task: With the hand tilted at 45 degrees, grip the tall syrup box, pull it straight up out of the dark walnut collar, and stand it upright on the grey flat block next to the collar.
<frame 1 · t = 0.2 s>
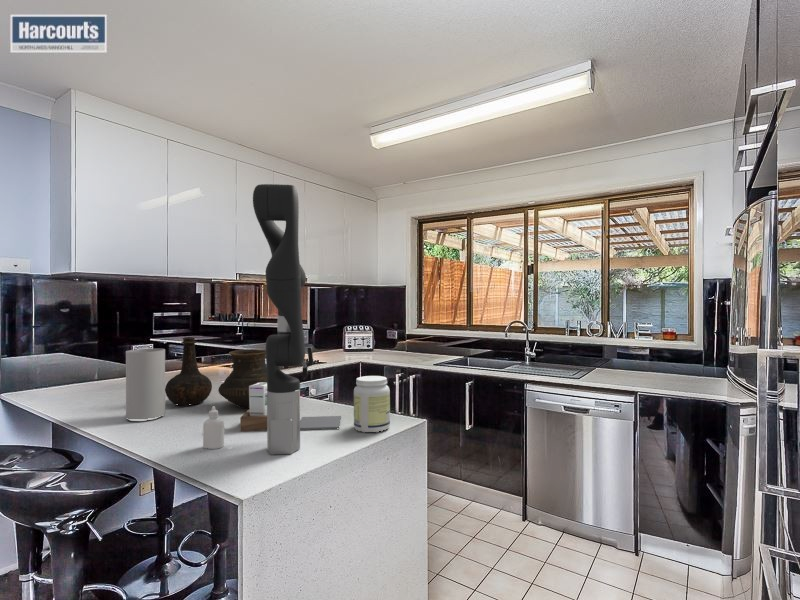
hand: (290, 379, 139), 18 cm above the countertop, tool pointing down, fingers open, 8 cm apart
syrup box: (261, 426, 149), resting in walnut collar
walnut collar: (261, 425, 149), on the countertop
grey flat block: (319, 423, 151), on the countertop
eye dropper bottle: (213, 447, 127), on the countertop
cylinder vase: (146, 418, 160), on the countertop
ceramic pot: (250, 406, 178), on the countertop
brown bulbous vase: (189, 403, 182), on the countertop
supplement tub: (371, 428, 145), on the countertop
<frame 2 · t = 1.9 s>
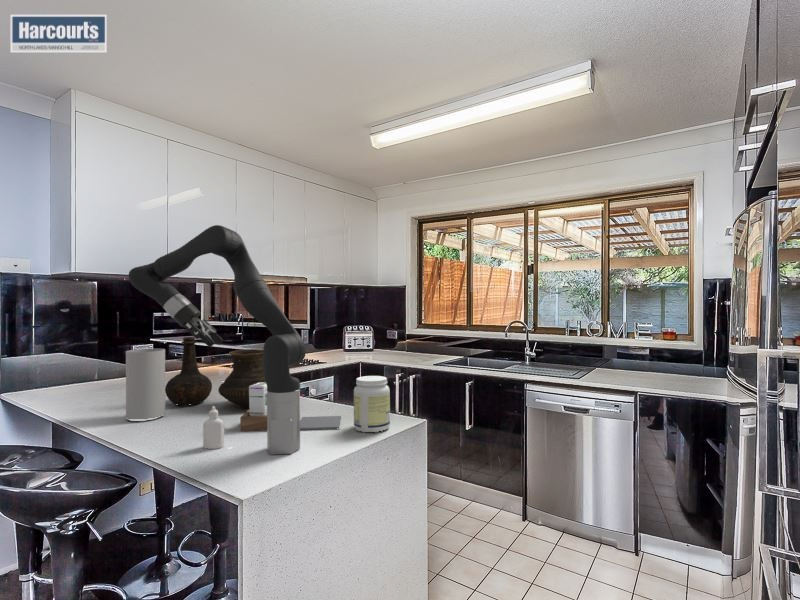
hand: (216, 343, 147), 29 cm above the countertop, tool tilted 45°, fingers open, 8 cm apart
nothing on the countertop moved.
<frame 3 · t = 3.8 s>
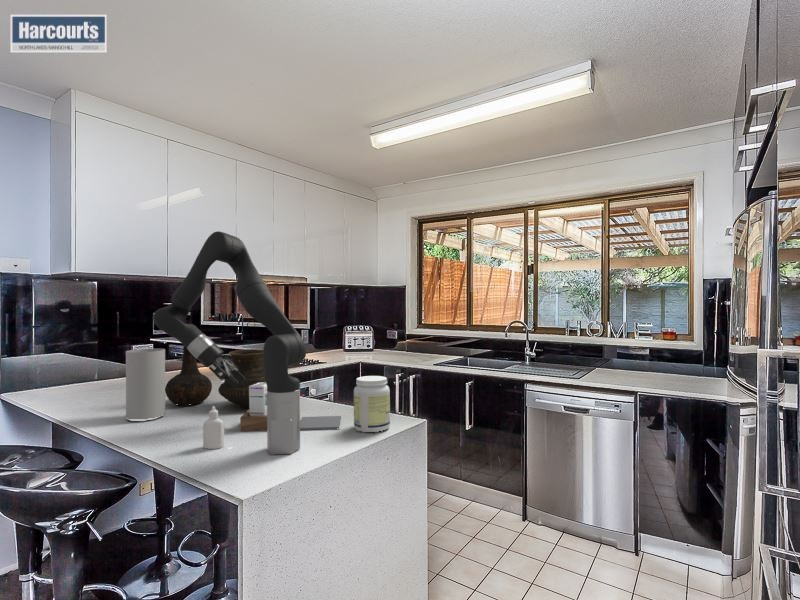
hand: (240, 383, 148), 15 cm above the countertop, tool tilted 45°, fingers open, 8 cm apart
nothing on the countertop moved.
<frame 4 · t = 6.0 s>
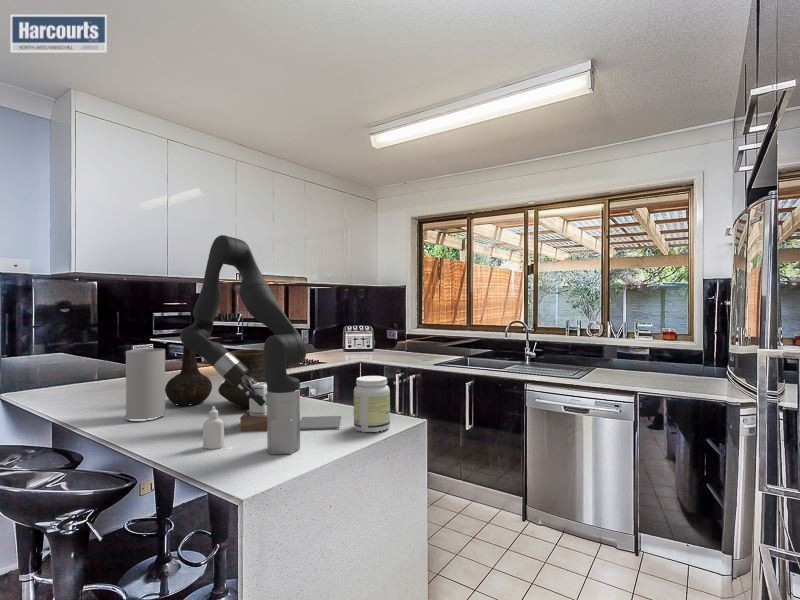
hand: (265, 401, 149), 8 cm above the countertop, tool tilted 45°, fingers closed on syrup box, 7 cm apart
syrup box: (261, 426, 149), resting in walnut collar, touching gripper
everything else where it was.
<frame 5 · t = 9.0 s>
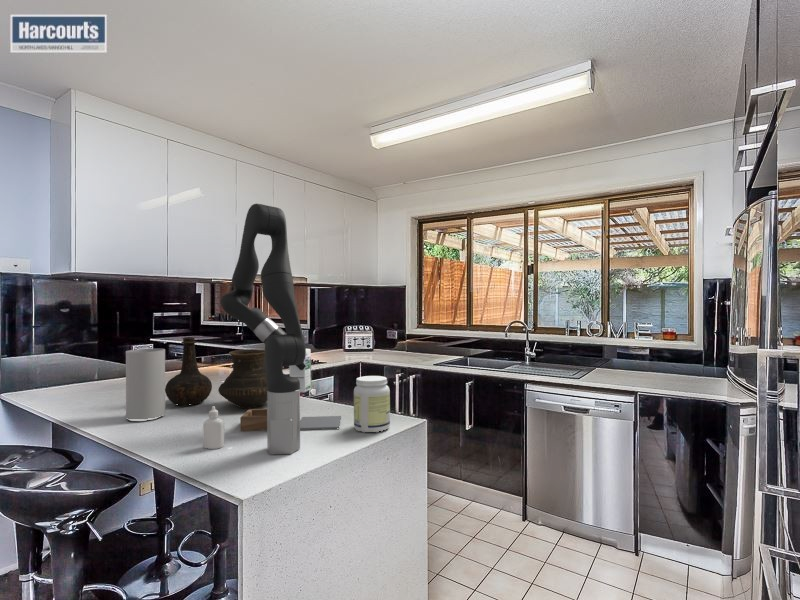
hand: (305, 366, 150), 20 cm above the countertop, tool tilted 45°, fingers closed on syrup box, 7 cm apart
syrup box: (300, 391, 150), point 12 cm above the countertop, touching gripper
everything else where it was.
when the fingers open (11 cm above the countertop, at t = 12.5 s): syrup box drops 1 cm, resting on grey flat block.
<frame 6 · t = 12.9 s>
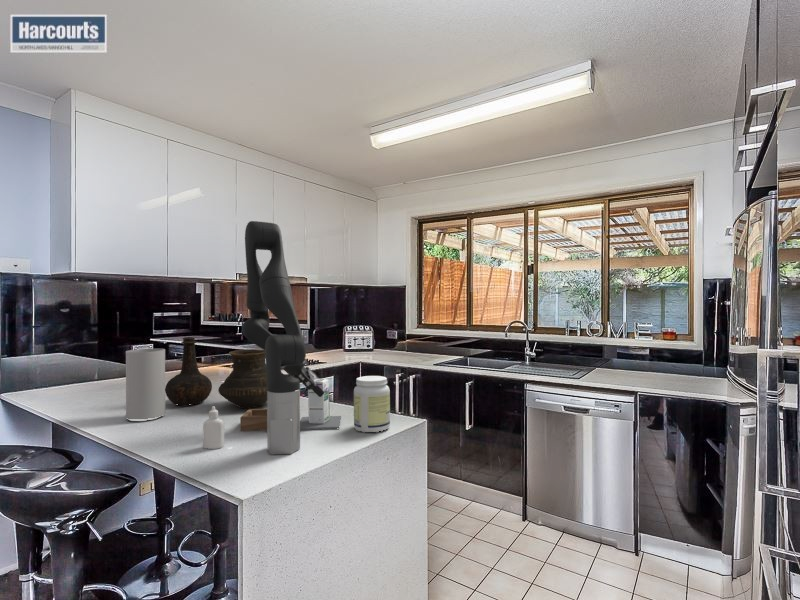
hand: (323, 392, 151), 11 cm above the countertop, tool tilted 45°, fingers open, 8 cm apart
syrup box: (319, 422, 151), point 1 cm above the countertop, touching grey flat block
everything else where it was.
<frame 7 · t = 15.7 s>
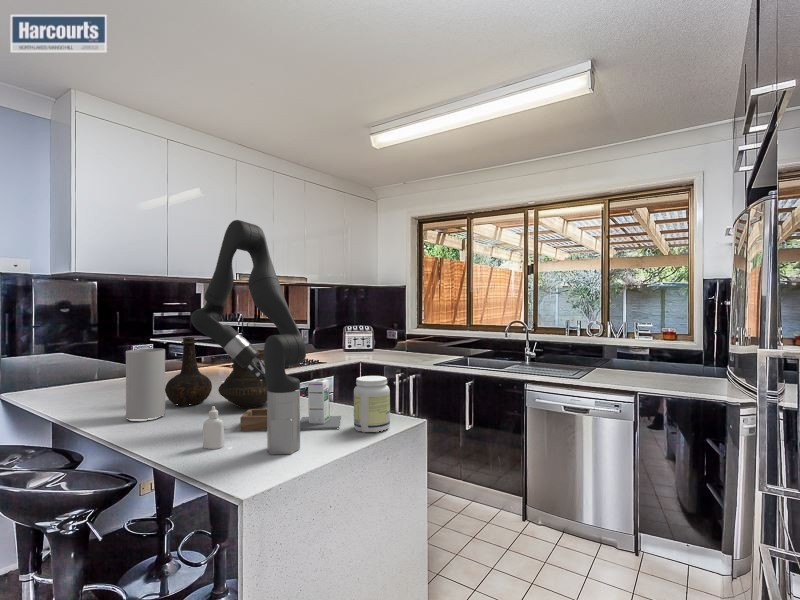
hand: (275, 383, 149), 15 cm above the countertop, tool tilted 45°, fingers open, 8 cm apart
nothing on the countertop moved.
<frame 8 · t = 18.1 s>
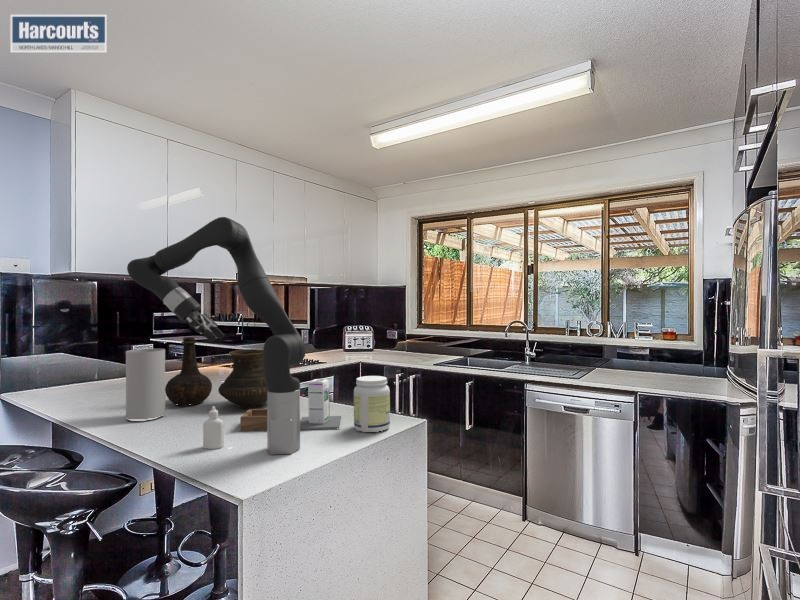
hand: (218, 338, 143), 31 cm above the countertop, tool tilted 45°, fingers open, 8 cm apart
nothing on the countertop moved.
at the end: syrup box inside the target area on the grey flat block (0.3 cm from its centre), point 0.6 cm above the grey flat block's base; syrup box tilted 0°; the gripper is holding nothing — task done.
